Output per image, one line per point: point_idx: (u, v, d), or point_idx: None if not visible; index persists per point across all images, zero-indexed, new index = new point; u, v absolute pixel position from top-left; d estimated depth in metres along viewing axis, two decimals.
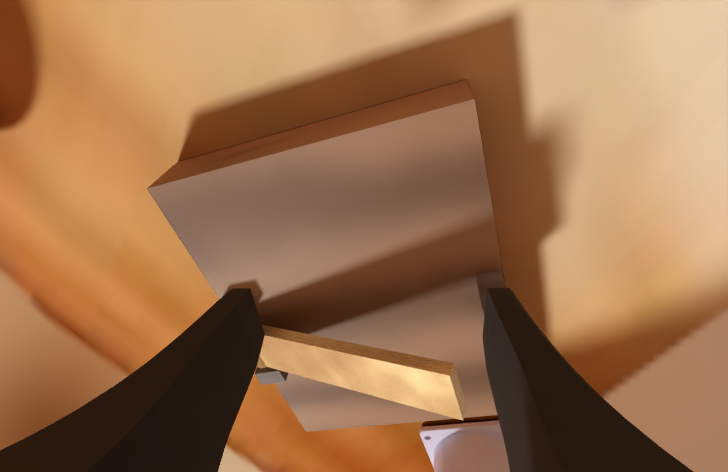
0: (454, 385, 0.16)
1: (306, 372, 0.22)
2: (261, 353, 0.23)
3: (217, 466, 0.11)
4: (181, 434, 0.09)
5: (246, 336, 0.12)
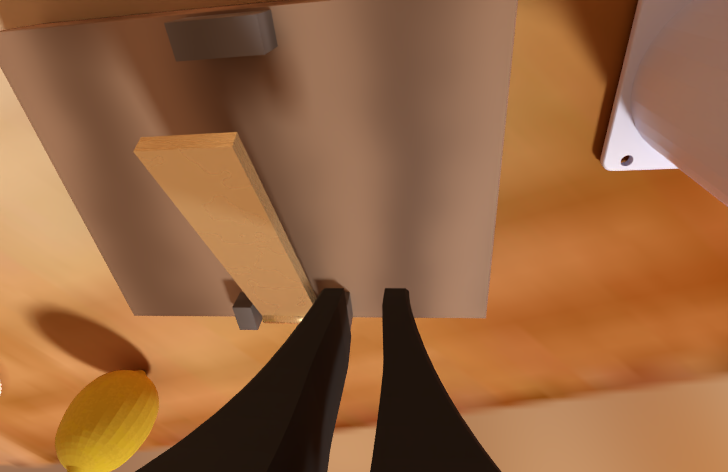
0: (158, 148, 0.12)
1: (291, 286, 0.18)
2: (293, 313, 0.21)
3: None
4: (308, 440, 0.09)
5: (342, 337, 0.12)
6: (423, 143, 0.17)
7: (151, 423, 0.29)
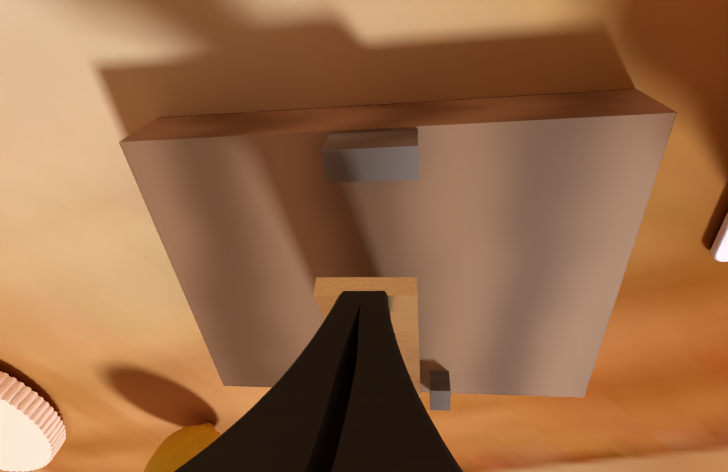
0: (339, 293, 0.12)
1: None
2: None
3: None
4: (336, 442, 0.09)
5: None
6: (550, 247, 0.17)
7: None
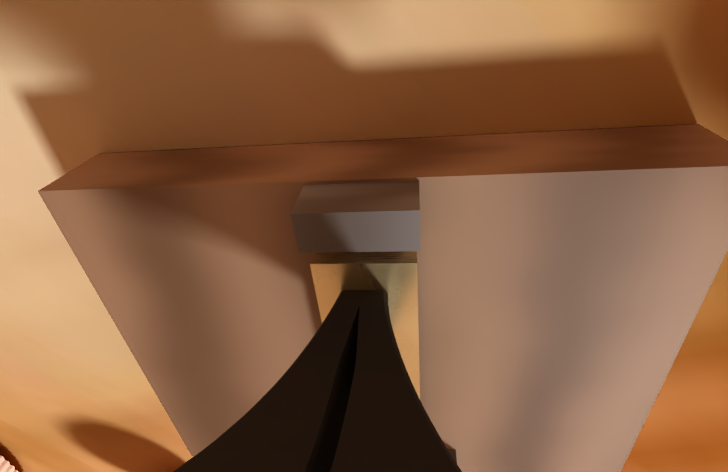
0: (336, 261, 0.12)
1: None
2: None
3: None
4: (336, 442, 0.09)
5: None
6: (586, 321, 0.13)
7: None
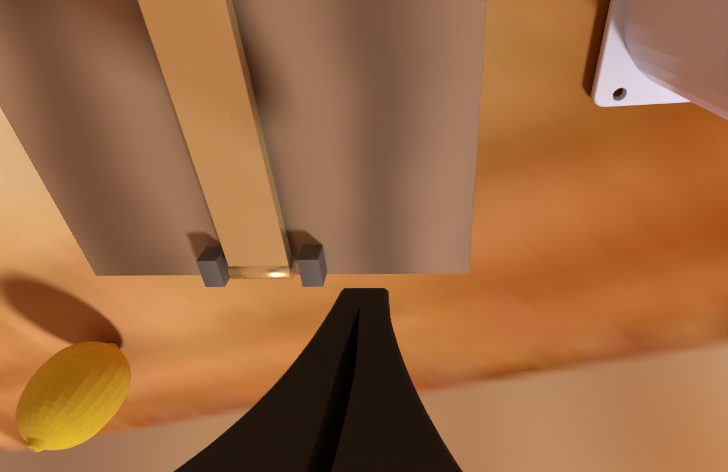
0: None
1: (262, 207, 0.18)
2: (262, 260, 0.19)
3: None
4: (335, 442, 0.09)
5: None
6: (395, 66, 0.15)
7: (121, 396, 0.28)
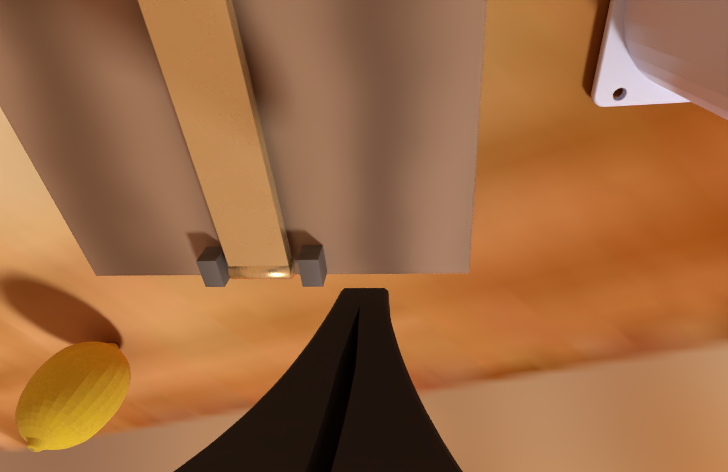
0: None
1: (262, 207, 0.18)
2: (262, 260, 0.19)
3: None
4: (335, 442, 0.09)
5: None
6: (395, 66, 0.15)
7: (121, 396, 0.28)
